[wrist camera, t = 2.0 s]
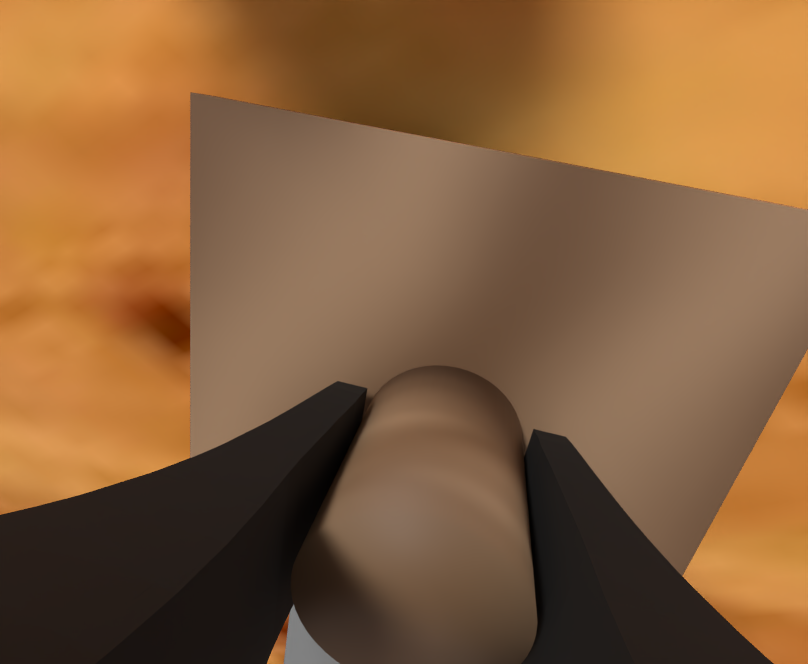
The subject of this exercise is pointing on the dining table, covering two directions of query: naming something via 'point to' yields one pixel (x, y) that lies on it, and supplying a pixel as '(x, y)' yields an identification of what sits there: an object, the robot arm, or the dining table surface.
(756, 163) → the dining table surface
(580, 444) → the lid
